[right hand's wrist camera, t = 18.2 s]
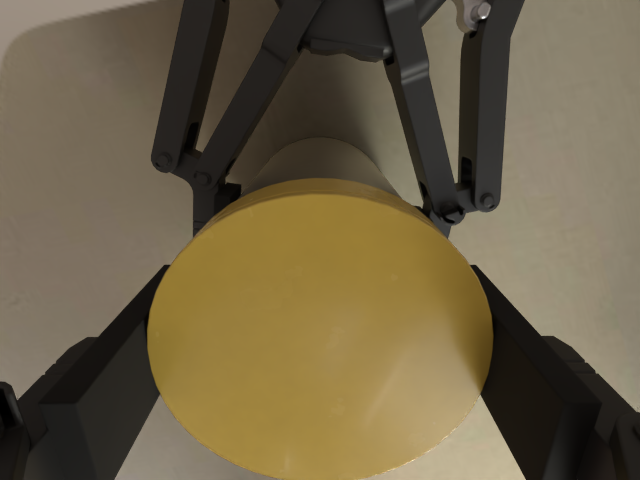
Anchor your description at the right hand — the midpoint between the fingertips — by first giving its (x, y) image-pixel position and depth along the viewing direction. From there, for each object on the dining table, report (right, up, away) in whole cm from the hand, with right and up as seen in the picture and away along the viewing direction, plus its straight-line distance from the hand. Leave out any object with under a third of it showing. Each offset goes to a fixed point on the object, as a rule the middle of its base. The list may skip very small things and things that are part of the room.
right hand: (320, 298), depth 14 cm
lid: (0, -1, -3) cm, 3 cm away
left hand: (-1, -2, +8) cm, 8 cm away
